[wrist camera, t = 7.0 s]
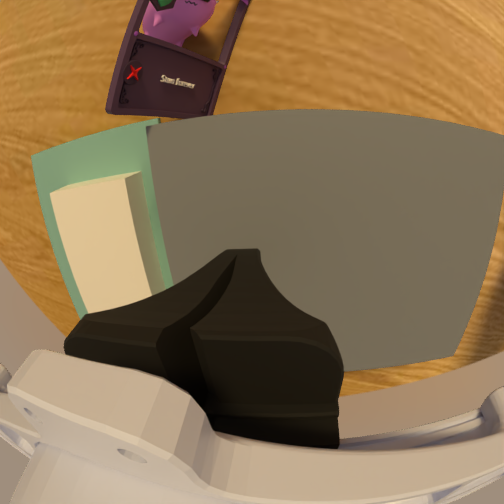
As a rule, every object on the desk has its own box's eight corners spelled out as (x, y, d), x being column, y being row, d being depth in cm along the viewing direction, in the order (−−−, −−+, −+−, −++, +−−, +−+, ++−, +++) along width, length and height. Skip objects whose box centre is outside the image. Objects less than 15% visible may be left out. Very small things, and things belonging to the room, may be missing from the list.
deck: (466, 128, 12) (507, 136, 8) (433, 320, 18) (453, 355, 14) (177, 123, 14) (145, 126, 10) (210, 330, 20) (197, 370, 16)
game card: (122, 117, 8) (201, -84, 4) (58, 106, 9) (115, -55, 5) (222, 124, 14) (269, -17, 10) (152, 108, 15) (193, -15, 11)
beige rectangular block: (49, 193, 14) (68, 184, 16) (88, 313, 18) (101, 298, 20) (124, 178, 13) (141, 170, 15) (159, 320, 17) (169, 302, 19)
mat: (160, 118, 14) (157, 118, 14) (198, 334, 20) (197, 337, 20) (33, 155, 15) (31, 155, 15) (84, 323, 22) (83, 325, 21)
